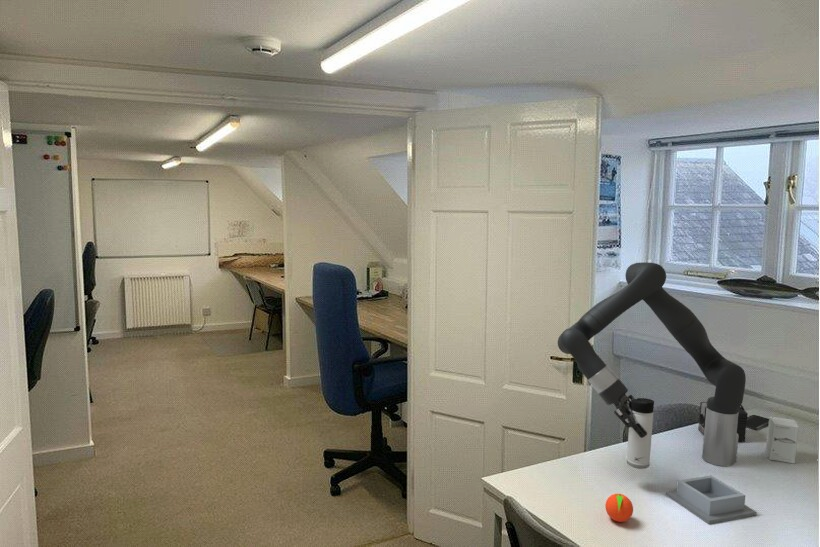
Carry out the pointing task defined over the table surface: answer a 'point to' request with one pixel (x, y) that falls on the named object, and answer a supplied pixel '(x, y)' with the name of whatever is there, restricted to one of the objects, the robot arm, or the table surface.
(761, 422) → the phone
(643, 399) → the travel mug
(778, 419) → the supplement box
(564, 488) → the table surface
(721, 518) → the mug dock
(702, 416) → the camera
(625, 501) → the clementine
